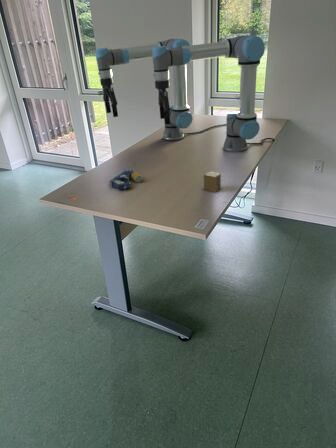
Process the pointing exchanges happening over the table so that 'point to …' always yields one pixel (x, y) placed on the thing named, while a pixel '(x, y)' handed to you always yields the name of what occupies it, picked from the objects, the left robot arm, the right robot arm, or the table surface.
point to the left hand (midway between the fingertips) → (112, 114)
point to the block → (212, 181)
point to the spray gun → (124, 179)
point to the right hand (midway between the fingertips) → (165, 121)
